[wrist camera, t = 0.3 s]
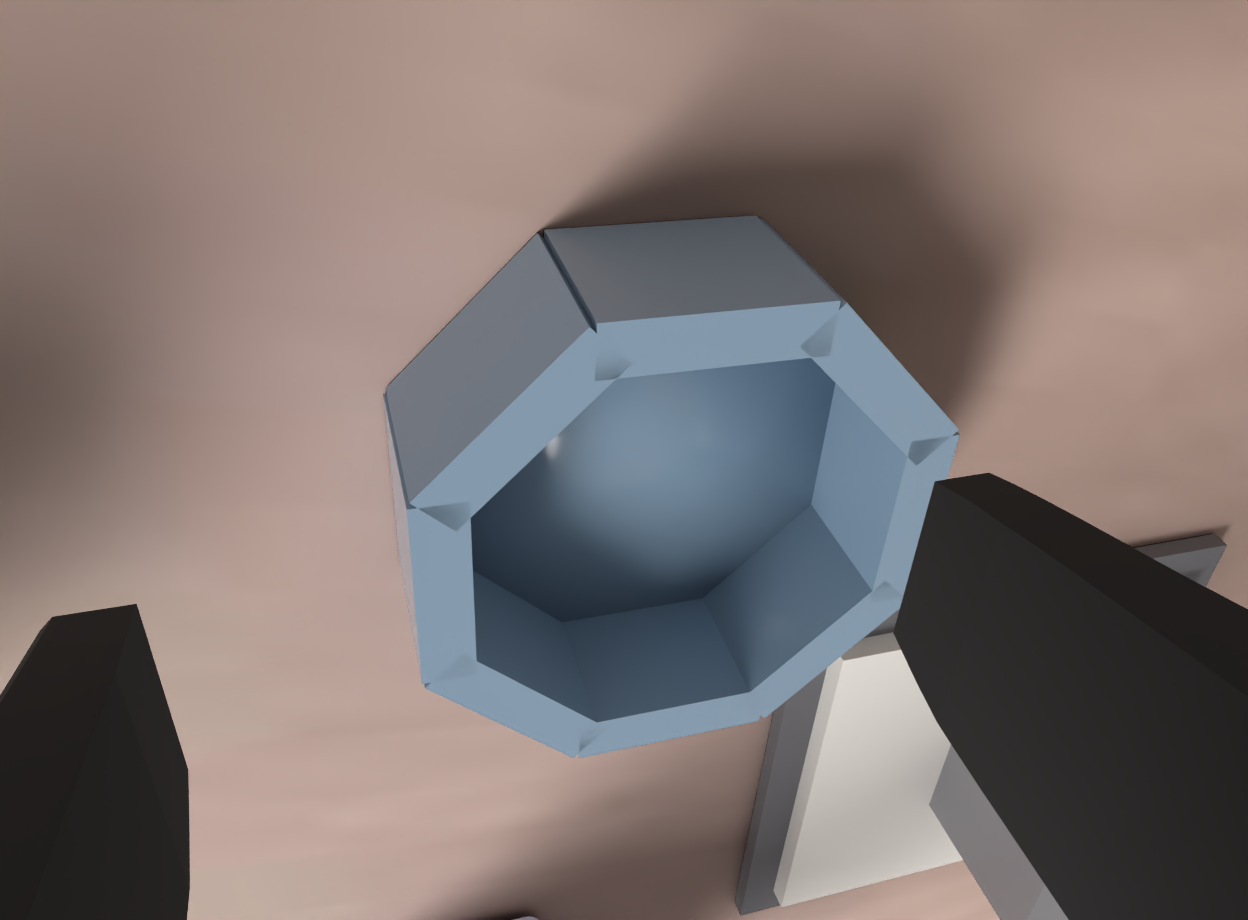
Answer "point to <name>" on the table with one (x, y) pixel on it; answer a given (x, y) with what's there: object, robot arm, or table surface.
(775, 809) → the mat
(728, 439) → the bowl
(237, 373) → the table surface
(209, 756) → the table surface
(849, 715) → the lid
